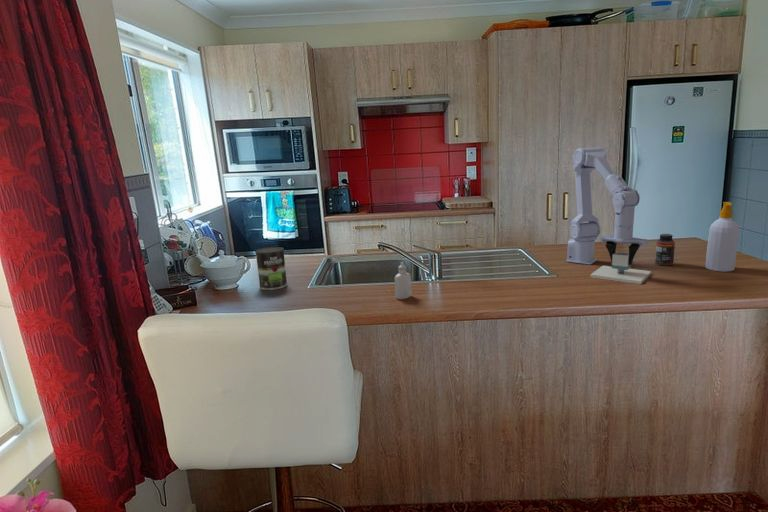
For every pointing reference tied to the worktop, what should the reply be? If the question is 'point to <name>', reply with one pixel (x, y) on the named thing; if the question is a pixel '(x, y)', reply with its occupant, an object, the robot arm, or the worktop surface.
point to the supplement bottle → (665, 250)
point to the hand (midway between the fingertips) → (621, 263)
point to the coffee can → (271, 268)
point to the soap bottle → (722, 242)
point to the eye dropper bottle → (402, 283)
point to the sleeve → (620, 261)
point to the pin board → (621, 274)
